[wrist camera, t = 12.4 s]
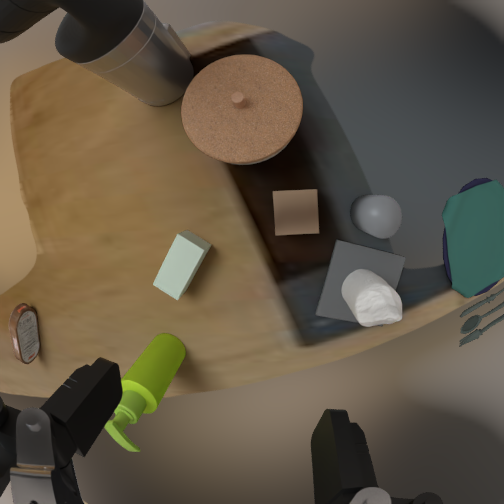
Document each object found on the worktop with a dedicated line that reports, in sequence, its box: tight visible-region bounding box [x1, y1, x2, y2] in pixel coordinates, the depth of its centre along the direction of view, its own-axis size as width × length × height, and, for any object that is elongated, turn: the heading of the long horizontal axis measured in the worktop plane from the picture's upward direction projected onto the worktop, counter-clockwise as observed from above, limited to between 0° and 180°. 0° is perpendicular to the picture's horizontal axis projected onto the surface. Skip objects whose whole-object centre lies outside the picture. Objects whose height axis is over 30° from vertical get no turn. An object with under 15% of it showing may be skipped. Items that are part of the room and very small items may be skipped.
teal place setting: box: [442, 178, 504, 347], centre depth 33 cm, size 20×30×2 cm, turn 20°
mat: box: [315, 239, 406, 326], centre depth 36 cm, size 11×11×1 cm
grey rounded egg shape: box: [350, 195, 402, 239], centre depth 31 cm, size 5×5×6 cm
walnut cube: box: [273, 189, 319, 235], centre depth 33 cm, size 5×5×5 cm
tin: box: [9, 303, 40, 364], centre depth 41 cm, size 15×3×8 cm, turn 162°
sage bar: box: [153, 230, 211, 300], centre depth 36 cm, size 8×4×4 cm, turn 149°
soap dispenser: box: [104, 333, 186, 452], centre depth 32 cm, size 6×7×20 cm
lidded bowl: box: [181, 55, 303, 165], centre depth 28 cm, size 13×13×11 cm
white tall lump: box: [341, 269, 402, 327], centre depth 30 cm, size 6×12×6 cm
